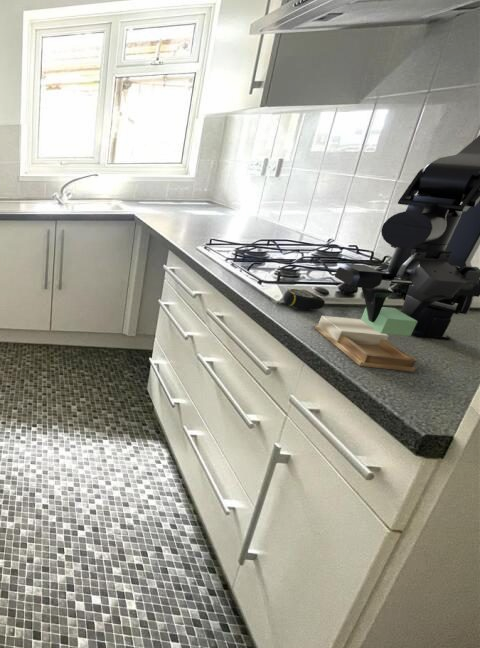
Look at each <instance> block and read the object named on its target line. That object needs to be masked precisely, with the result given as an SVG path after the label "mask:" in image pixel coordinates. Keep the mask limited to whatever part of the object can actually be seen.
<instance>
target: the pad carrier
mask: <svg viewBox="0 0 480 648" xmlns="http://www.w3.org/2000/svg"><path fill="white" fill-rule="evenodd" d="M315 330H317V332H319V333H320V334H321V335H322V336H324V337H325V338H326V339H327V340H328V341H330V342H331V343H332V344H333V345H334V346H335V347H337V348H338V349H339V350H340V351H342V352H343V353H344V354H345V355H346V356H348V358H349V359H350V360H351V361H353V362H355V363H356V364H357V365H358V366H359V367H367V368H376V369H386V370H394V371H404V372H413V373H414V372H415V371H416V367H415V366H414V365H415V363H416V361H417V360H416V359H414V358H413V357H412V356H410V355H409V354H407V353H406V352H404V351H403V350H401V349H400V348H398V347H397V346H396V345H394V344H393V343H391V342H389V341H388V339H389V337H390V336H389V335H390V334H382V333H379V332H378V331H377V330H375V329H374V328H372V327H371V326H369V325H368V324H366V323H365V322H363V321H362V320H361V318H352V317H341V316H329V315H321V316H320V319H319V322H318V324H316V325H315Z"/></svg>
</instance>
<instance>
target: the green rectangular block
mask: <svg viewBox="0 0 480 648" xmlns="http://www.w3.org/2000/svg"><path fill="white" fill-rule="evenodd" d="M401 311H402V310H399V309H397V308H395V307H390V306H389V307H387V306H382V308H381V311H380V313H379V315H378V317H377V319H376V320H375V322H371V321H369V320H368V314H367V308H366V307H365V308H364V311H363V313H362V315H361V318H360V319H361V320H362V321H363V322H365V323H366V324H368V325H369V326H371V327H372V328H374V329H375V330H377V331H378V332H379V333H382V334H387V335H393V336H394V335H395V336H403V337H411V336H412V332H413V330H414V328H415V326H416V324H417V322H418V321H416V320H415V319H413V318H411V317H409V316H408V315H406V314H404V313H402V312H401Z"/></svg>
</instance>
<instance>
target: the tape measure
mask: <svg viewBox="0 0 480 648" xmlns="http://www.w3.org/2000/svg"><path fill="white" fill-rule="evenodd" d="M282 300H283V303H284V304H286V305H287V306H290V307H292V308H294V309H295V310H296V309H299V310H305V311H311V310H321V309H322V308H324V306H325V303H326V302H325V300H324V298H322V297H321V296H319V295H317V294H315V293H313V292H311V291H309V290H307V289H298V288H289V289H287V290H286V292H284V295H283V296H282Z"/></svg>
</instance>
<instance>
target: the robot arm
mask: <svg viewBox="0 0 480 648" xmlns="http://www.w3.org/2000/svg"><path fill="white" fill-rule="evenodd" d="M397 205H402V206H403V205H404V206H407V207H406V209H405V211H400V212H397V213H395V214H393V215H391V216H390V217H388V218H387V219H386V221H384V223H383V224H382V226H381V229H380V232H381V237H382V239H383V240H384V241H385V242H386V243H387V244H388V245H390V247H391V248H394V252H393V253H392V256H391V258H390V261H389V263H387V262H383V263H382V265H381V269H382V270H384V271H379V270H377V269H375V268H373V267H370V266H369V265H367V264H355V263H354V264H353V263H343V264H342V265H340V266H339V267H337V269H336V271H335V274H334V278H335V279H337V280H339V281H341V282H344V284H346V285H348V286H350V287H353V288H358V289H359V288H360V289H361V291H362V294H363V297H364V304H365V308H367V314H368V320H369V321H371V322H375V320H376V319H377V317H378V315H379V313H380V311H381V308H382V307H384V304H385V302H386V299H387V298H389V297H390V296H391V295H393V294H394V291H393V290H390V286H391V284H399V285H407V286H406V289H405V292H404V296H403V299H402V300H403V304H402V308H401V310H400V311H401V312H402V313H404V314H406V315H408V316H409V317H411V318H413V319H415V320H416V321H418V322H417V324H416V326H415V328H414V330H413V332H412V334H411V336H415V337H423V338H433V339H434V338H435V339H441V340H442V339H445V340H450V339H451V336H450V335H448V334H447V333H446V331H447V329H448V327H449V326H450V324H451V322H452V317H453V315H460V314H461V315H467V314H468V312H469V311H470V309H471V307H472V304H473V302H474V298H475V297H477V298H479V297H480V268H479V267H478V266H472V263H471V262H472V260H473V258H474V256H475V254H476V253H477V250H478V249H479V247H480V134H479V135H478V136H477V137H475V138H474V139H473V140H472V141H471V142H470V143H468V144H467V145H465V146H464V148H462V149H461V150H459V152H457V153H456V154H453V155H447V156H442V157H438V158H437V159H435V160H433V161H432V162H430V163H428V164H427V165H426V166H424V168H421V169H419V171H418V172H417V173H416V175H414V178H413V179H412V181H411V182H410V184H409V185H408V186H407V188H406V189H405V191H404V192H403V194H402V195H401V197H400V198H399V200H398V201H397Z"/></svg>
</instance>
